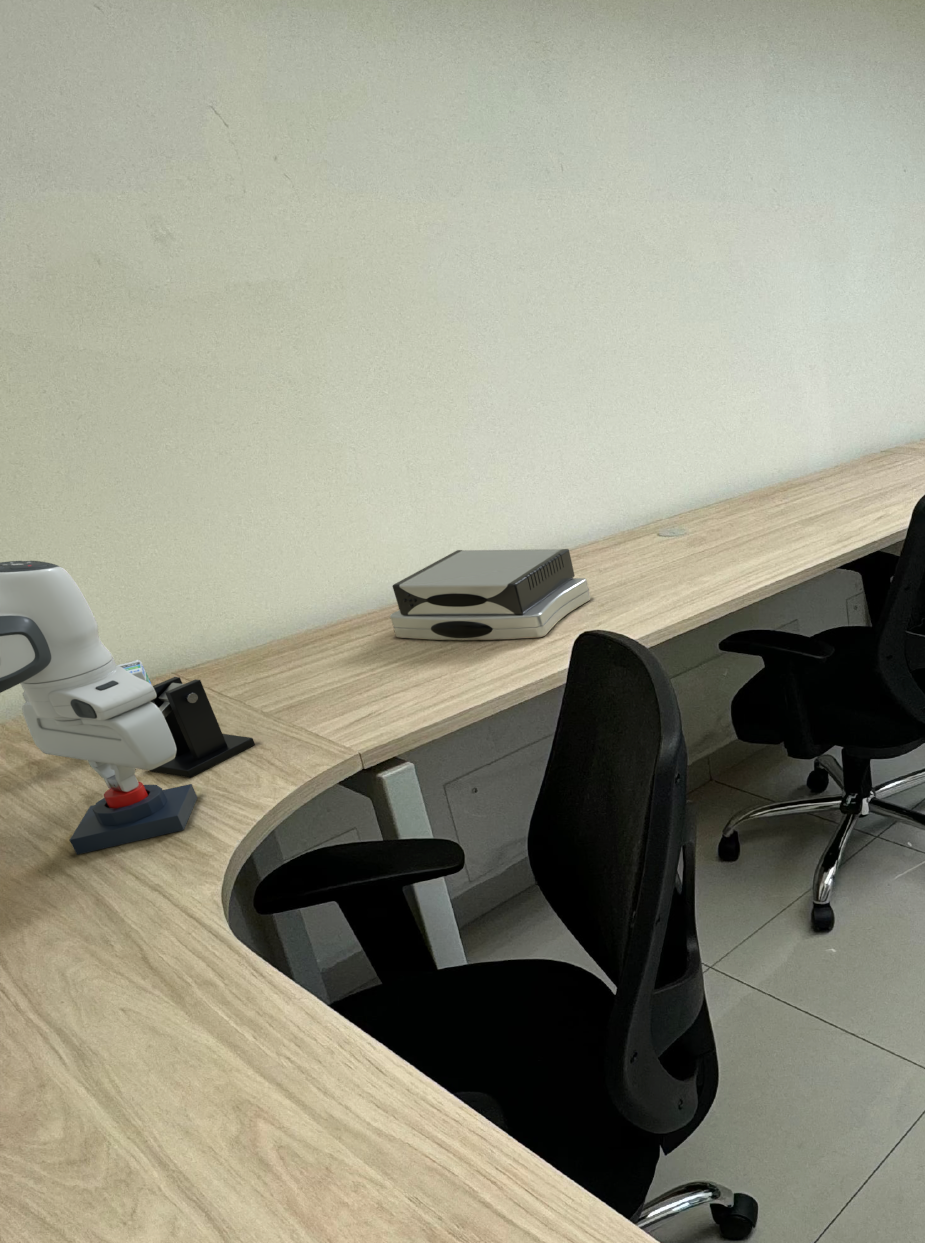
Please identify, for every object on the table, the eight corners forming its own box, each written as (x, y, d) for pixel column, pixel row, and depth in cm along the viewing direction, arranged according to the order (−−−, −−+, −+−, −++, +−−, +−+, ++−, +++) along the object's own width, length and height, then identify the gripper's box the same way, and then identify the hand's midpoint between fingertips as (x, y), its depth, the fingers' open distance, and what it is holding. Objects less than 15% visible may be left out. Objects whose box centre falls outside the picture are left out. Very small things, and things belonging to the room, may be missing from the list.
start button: (105, 812, 121) (99, 800, 120) (113, 798, 124) (108, 786, 124) (144, 804, 123) (138, 792, 122) (151, 789, 126) (146, 778, 125)
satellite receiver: (386, 642, 180) (369, 588, 176) (457, 598, 201) (443, 549, 197) (537, 642, 177) (524, 587, 173) (593, 598, 198) (583, 548, 194)
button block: (76, 854, 119) (62, 827, 117) (97, 820, 127) (84, 793, 125) (184, 830, 123) (171, 803, 122) (197, 797, 131) (186, 771, 129)
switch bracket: (190, 778, 136) (157, 702, 131) (149, 771, 138) (115, 697, 133) (255, 744, 144) (226, 672, 139) (215, 739, 147) (186, 667, 142)
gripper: (-11, 693, 117) (41, 791, 123) (108, 709, 111) (156, 811, 117) (47, 671, 122) (93, 766, 128) (163, 686, 117) (206, 785, 122)
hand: (124, 788), depth 123 cm, fingers closed
